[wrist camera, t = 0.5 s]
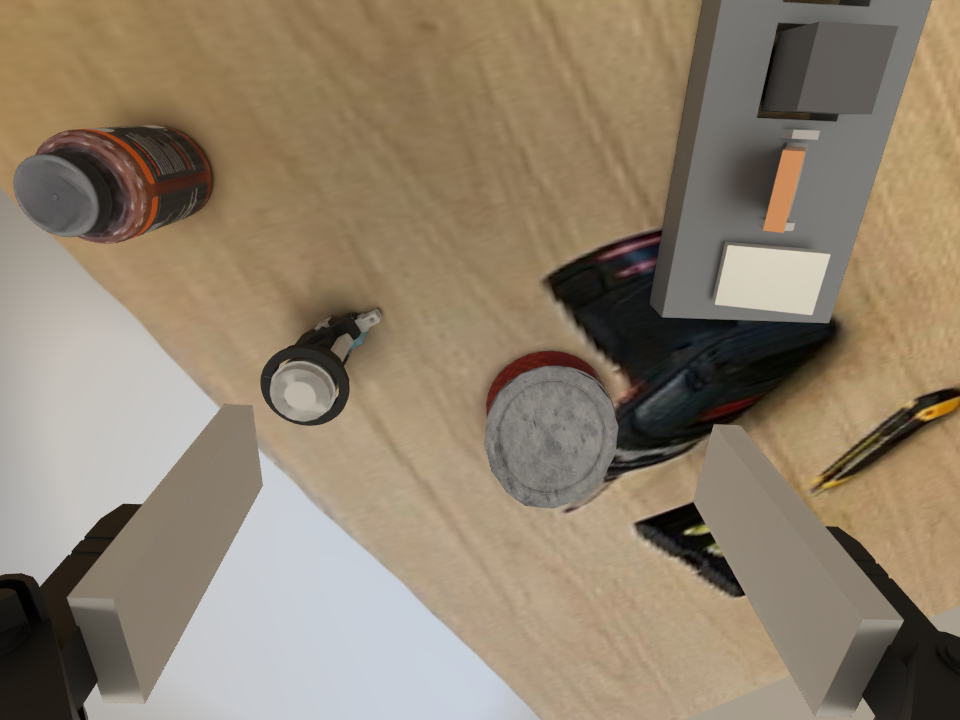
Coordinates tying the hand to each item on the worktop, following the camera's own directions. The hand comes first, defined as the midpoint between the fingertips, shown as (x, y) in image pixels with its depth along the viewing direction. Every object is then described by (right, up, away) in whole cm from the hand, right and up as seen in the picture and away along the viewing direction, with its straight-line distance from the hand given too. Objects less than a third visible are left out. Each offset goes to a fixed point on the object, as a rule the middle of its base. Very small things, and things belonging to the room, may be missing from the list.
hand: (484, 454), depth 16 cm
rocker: (+19, +8, +21) cm, 29 cm away
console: (+19, +19, +21) cm, 34 cm away
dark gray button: (+19, +20, +17) cm, 33 cm away
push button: (-10, +5, +26) cm, 29 cm away
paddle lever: (+19, +14, +19) cm, 30 cm away
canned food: (+5, -1, +29) cm, 30 cm away
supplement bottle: (-21, +15, +21) cm, 34 cm away
